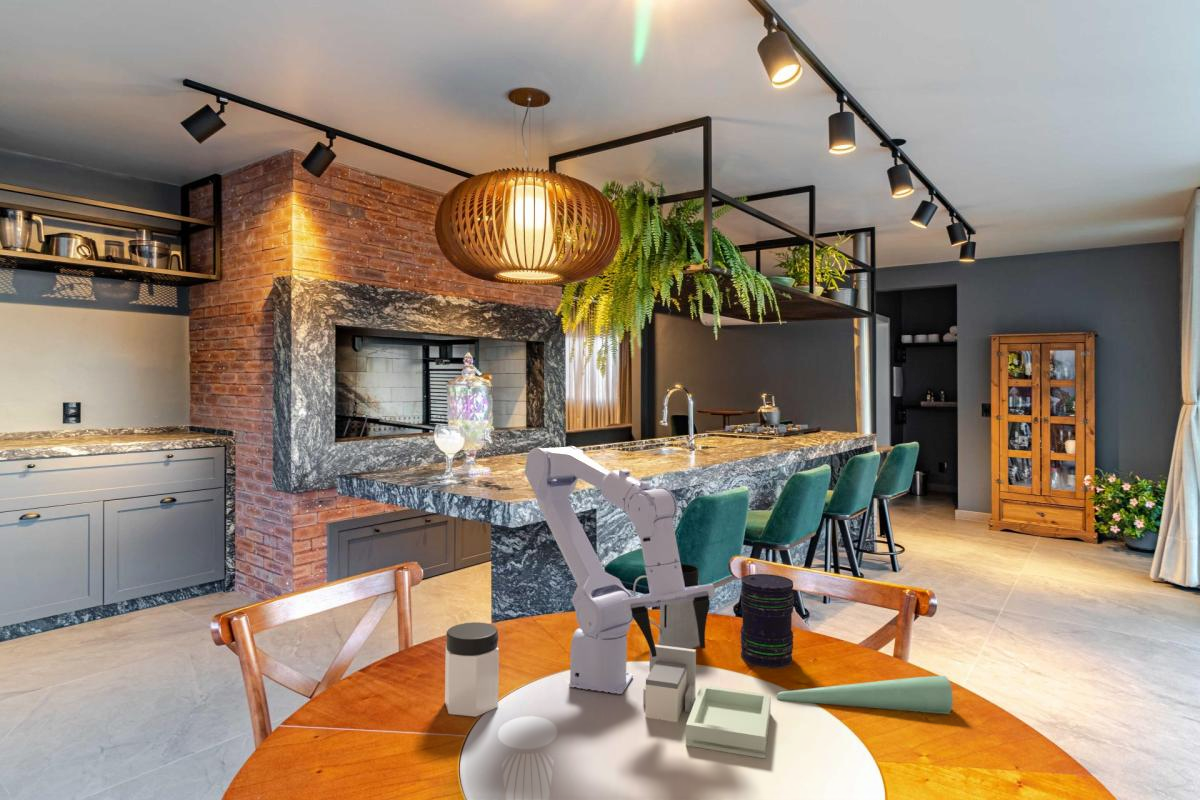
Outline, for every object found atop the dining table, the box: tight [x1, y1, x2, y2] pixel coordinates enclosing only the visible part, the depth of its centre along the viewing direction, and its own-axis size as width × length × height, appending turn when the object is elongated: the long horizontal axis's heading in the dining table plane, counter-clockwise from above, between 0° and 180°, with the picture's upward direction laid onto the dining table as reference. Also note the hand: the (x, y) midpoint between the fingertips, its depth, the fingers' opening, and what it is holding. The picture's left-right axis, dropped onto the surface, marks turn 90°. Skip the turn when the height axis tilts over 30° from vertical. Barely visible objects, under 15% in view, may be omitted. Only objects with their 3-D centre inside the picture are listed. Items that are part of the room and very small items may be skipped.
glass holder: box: [632, 563, 700, 649], centre depth 137 cm, size 9×14×15 cm, turn 102°
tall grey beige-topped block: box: [644, 661, 687, 723], centre depth 107 cm, size 5×8×6 cm, turn 163°
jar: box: [444, 621, 500, 718], centre depth 108 cm, size 9×8×12 cm
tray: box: [685, 684, 772, 760], centre depth 101 cm, size 11×14×3 cm
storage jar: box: [739, 573, 795, 669], centre depth 129 cm, size 10×10×15 cm
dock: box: [642, 644, 697, 713], centre depth 110 cm, size 8×5×8 cm
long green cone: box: [776, 675, 954, 715], centre depth 110 cm, size 5×6×27 cm
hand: (678, 651), depth 105 cm, fingers open, 7 cm apart
